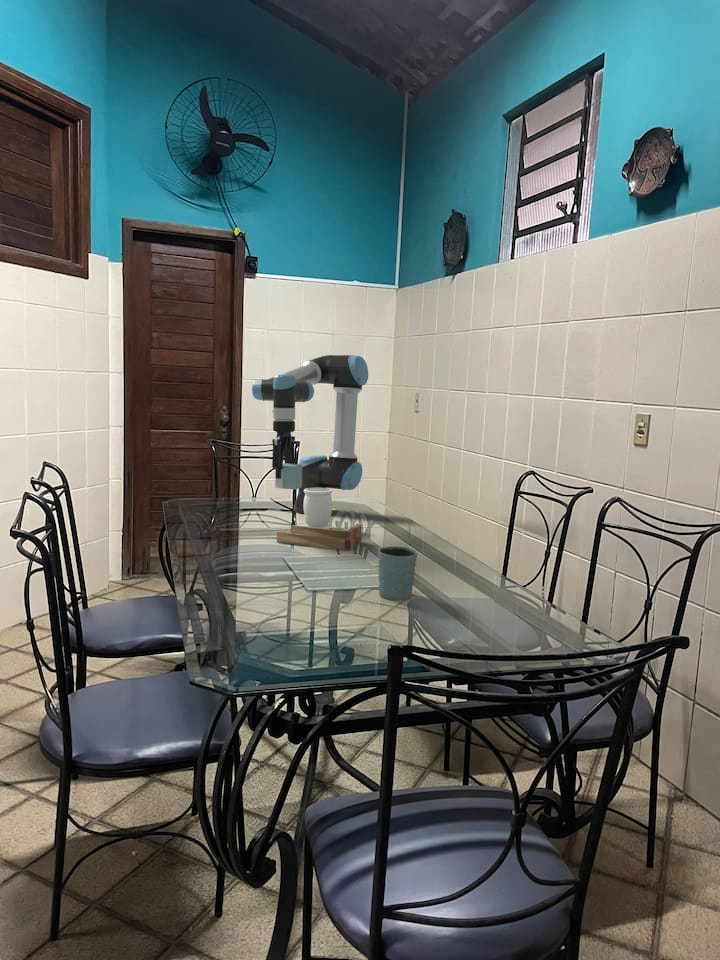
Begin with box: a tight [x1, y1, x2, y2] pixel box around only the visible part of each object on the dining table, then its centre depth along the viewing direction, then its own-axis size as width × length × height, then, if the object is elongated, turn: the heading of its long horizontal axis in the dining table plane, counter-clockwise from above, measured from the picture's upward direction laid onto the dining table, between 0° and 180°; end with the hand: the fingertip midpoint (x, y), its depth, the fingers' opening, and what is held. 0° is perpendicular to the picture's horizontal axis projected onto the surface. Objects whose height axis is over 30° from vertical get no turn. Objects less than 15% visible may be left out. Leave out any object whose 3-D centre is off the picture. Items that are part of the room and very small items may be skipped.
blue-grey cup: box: [378, 546, 418, 601], centre depth 181 cm, size 10×10×12 cm
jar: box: [303, 488, 333, 529], centre depth 255 cm, size 11×10×15 cm
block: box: [281, 463, 302, 491], centre depth 240 cm, size 6×6×8 cm
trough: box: [276, 524, 362, 551], centre depth 236 cm, size 12×26×6 cm, turn 71°
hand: (283, 486), depth 241 cm, fingers closed on block, 6 cm apart
